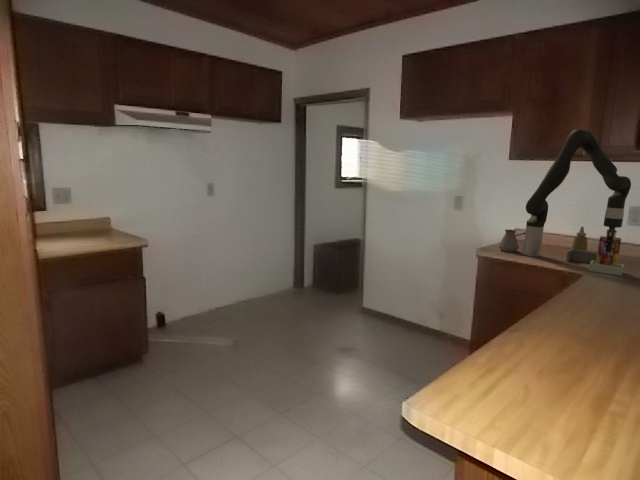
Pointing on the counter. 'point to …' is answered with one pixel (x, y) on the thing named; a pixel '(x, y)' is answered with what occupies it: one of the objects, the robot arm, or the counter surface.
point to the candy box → (608, 257)
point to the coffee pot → (509, 241)
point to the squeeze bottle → (580, 241)
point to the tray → (606, 268)
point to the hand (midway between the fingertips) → (608, 250)
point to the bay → (581, 256)
